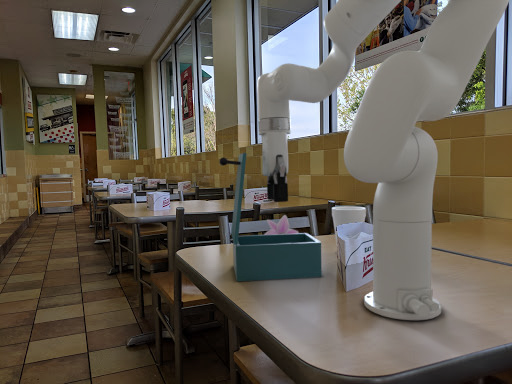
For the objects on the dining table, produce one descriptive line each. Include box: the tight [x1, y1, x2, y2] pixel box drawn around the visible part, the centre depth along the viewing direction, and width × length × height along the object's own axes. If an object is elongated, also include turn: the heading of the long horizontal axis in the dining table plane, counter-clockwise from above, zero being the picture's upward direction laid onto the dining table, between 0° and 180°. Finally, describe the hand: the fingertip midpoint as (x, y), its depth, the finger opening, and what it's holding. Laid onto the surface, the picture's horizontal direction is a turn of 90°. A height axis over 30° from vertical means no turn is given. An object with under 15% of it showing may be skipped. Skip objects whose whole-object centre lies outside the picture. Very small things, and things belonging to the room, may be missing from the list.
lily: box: [263, 214, 300, 235], centre depth 116 cm, size 12×12×10 cm
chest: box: [232, 232, 323, 282], centre depth 91 cm, size 19×13×8 cm, turn 97°
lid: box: [218, 152, 248, 244], centre depth 89 cm, size 20×13×6 cm
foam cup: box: [331, 205, 367, 245], centre depth 108 cm, size 10×9×13 cm
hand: (277, 200), depth 90 cm, fingers open, 9 cm apart
